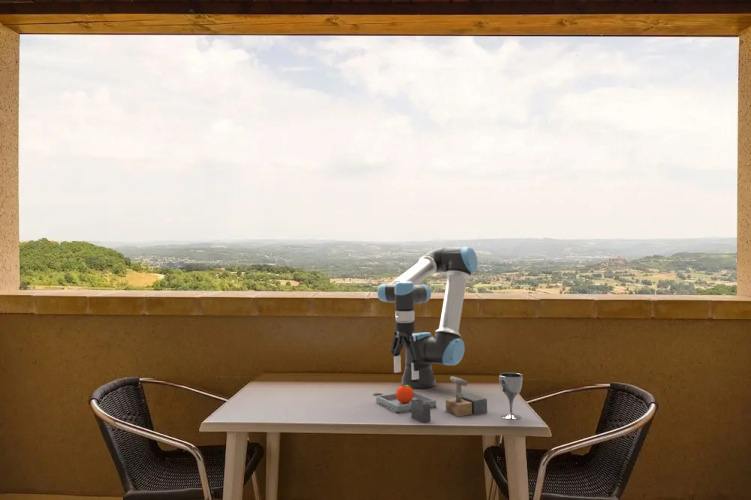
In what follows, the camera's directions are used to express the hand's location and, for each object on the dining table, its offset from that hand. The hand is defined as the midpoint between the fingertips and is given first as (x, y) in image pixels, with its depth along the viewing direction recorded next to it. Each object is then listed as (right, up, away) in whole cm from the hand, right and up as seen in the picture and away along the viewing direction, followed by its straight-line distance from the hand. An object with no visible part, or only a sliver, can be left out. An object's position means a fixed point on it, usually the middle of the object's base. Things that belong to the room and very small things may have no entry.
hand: (406, 375), depth 212 cm
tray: (0, -11, -1) cm, 11 cm away
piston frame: (+15, -11, -14) cm, 23 cm away
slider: (+19, -11, -12) cm, 25 cm away
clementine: (0, -11, -1) cm, 11 cm away
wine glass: (+37, -11, -18) cm, 42 cm away
